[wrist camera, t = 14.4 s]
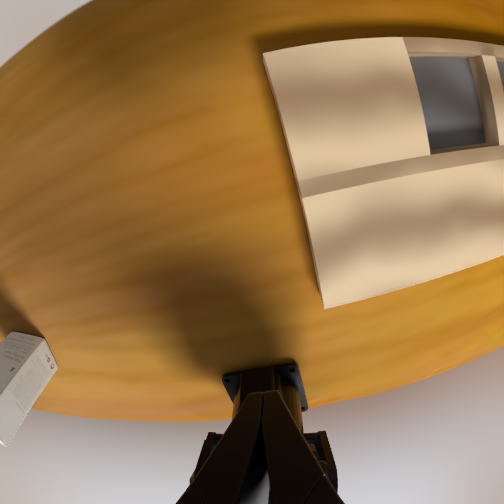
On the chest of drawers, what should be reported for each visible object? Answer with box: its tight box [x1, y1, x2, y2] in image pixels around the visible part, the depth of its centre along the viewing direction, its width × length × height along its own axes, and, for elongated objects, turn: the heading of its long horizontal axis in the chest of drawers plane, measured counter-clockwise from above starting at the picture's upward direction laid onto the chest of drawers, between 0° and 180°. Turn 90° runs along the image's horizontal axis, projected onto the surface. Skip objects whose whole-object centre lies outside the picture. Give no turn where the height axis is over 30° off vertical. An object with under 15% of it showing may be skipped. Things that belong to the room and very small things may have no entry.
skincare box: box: [0, 332, 58, 447], centre depth 20 cm, size 6×4×12 cm
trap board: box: [263, 37, 504, 309], centre depth 15 cm, size 16×25×4 cm, turn 105°
